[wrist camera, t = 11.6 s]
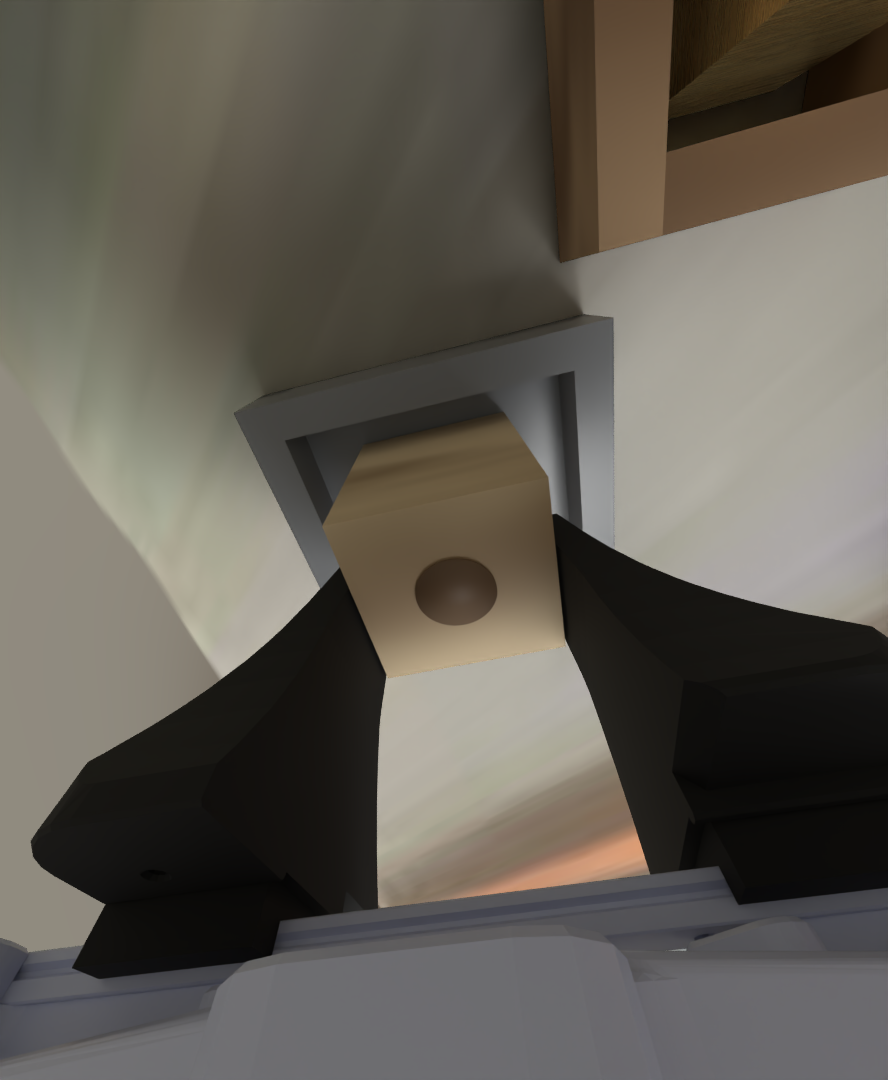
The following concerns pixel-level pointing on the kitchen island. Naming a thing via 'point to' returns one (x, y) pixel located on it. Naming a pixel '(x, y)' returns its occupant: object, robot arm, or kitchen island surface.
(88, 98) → the kitchen island surface
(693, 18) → the gold rectangular block
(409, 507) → the block
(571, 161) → the brown rectangular frame
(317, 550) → the tray
